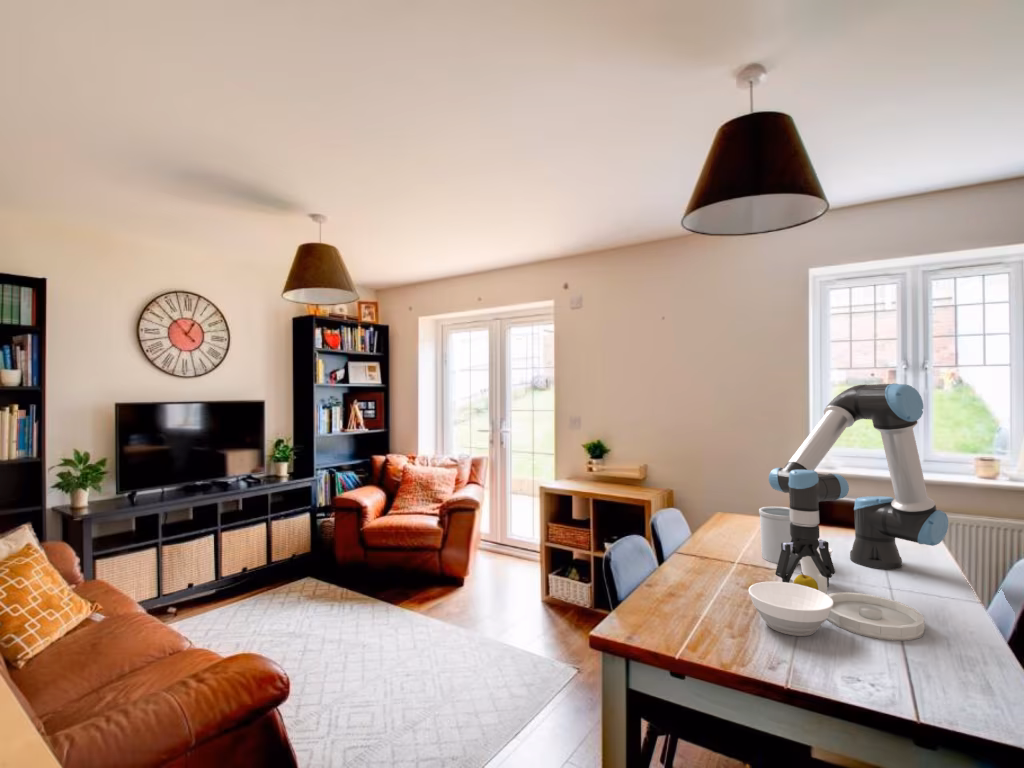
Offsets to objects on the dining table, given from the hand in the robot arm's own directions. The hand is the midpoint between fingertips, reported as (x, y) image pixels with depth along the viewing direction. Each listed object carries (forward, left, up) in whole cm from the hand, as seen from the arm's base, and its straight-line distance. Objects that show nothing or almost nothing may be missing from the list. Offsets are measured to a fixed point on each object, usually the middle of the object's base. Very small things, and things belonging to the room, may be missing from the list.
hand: (806, 600), depth 151 cm
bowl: (+16, +14, -1) cm, 21 cm away
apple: (0, 0, 0) cm, 0 cm away
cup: (-13, -12, 0) cm, 18 cm away
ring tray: (-7, +15, 0) cm, 17 cm away
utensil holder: (-19, -35, 0) cm, 40 cm away
